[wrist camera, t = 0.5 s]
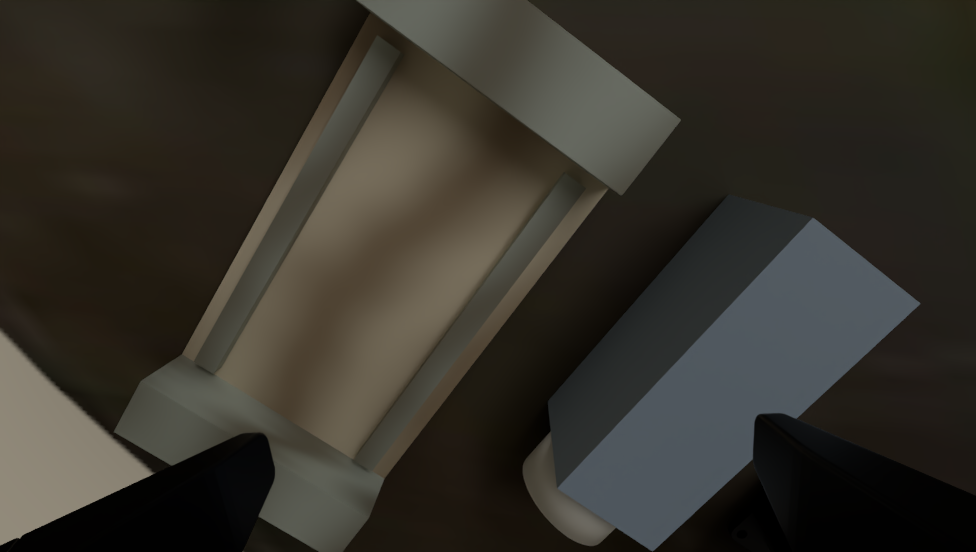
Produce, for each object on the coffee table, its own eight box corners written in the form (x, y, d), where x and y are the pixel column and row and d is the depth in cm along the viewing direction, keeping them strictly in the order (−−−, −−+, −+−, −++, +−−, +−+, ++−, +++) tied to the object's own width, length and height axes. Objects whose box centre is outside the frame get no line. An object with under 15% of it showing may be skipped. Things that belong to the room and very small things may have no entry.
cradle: (652, 122, 19) (681, 119, 16) (359, 503, 25) (335, 560, 22) (419, -56, 18) (396, -102, 14) (170, 390, 24) (113, 431, 20)
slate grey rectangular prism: (806, 256, 20) (920, 303, 14) (593, 476, 24) (617, 584, 18) (727, 194, 20) (813, 217, 14) (522, 428, 23) (523, 524, 18)
